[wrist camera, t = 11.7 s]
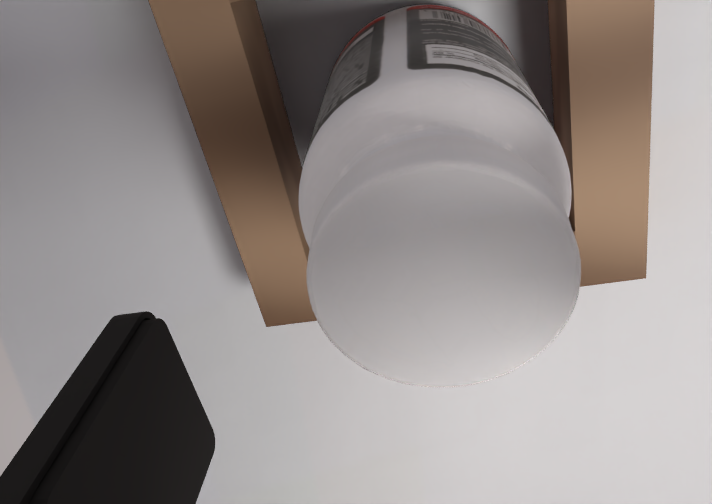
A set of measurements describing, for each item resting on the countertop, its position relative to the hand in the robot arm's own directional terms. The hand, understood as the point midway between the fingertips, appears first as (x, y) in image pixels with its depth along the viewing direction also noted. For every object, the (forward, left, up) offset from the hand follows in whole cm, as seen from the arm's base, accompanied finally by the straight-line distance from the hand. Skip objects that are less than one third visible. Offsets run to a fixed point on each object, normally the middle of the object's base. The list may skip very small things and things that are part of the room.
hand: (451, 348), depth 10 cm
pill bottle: (0, 0, -11) cm, 11 cm away
